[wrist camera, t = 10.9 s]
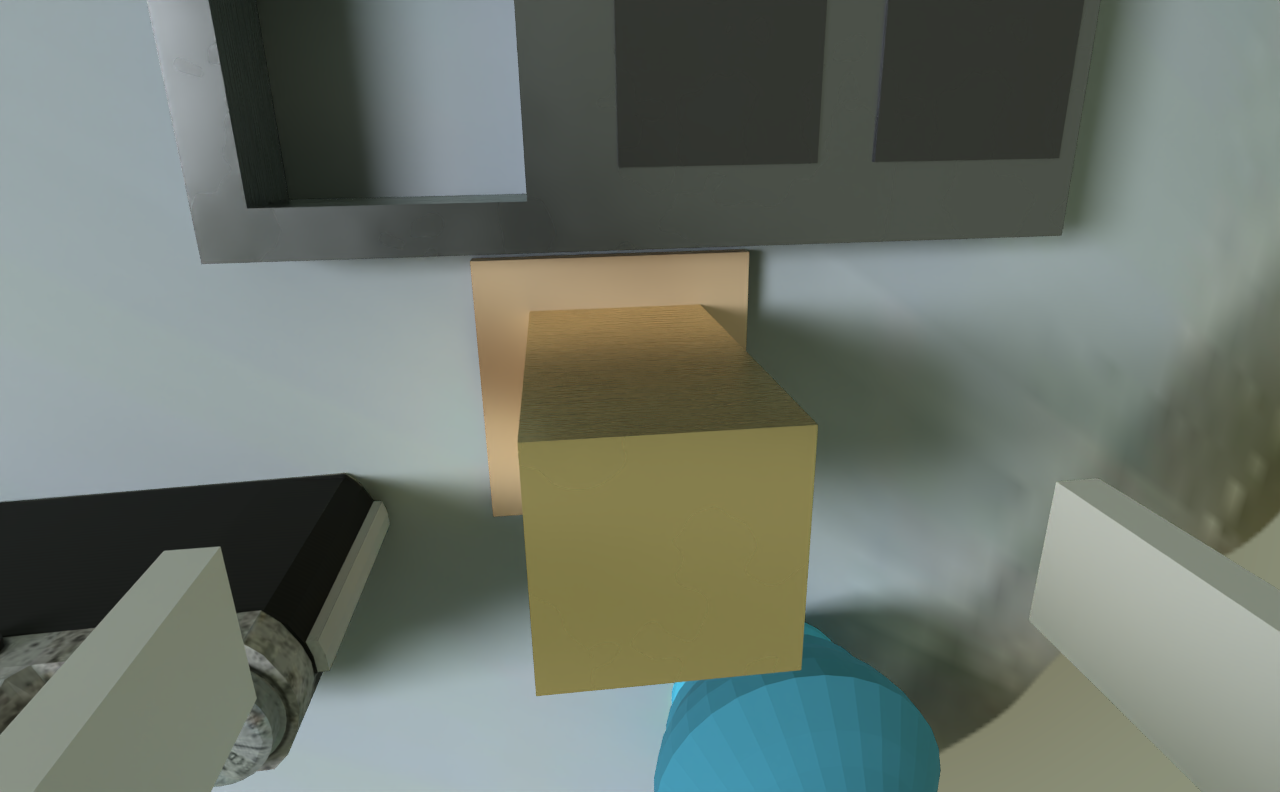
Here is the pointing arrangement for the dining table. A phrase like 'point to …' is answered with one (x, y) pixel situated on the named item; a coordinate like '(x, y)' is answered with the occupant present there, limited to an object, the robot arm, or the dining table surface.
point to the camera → (256, 568)
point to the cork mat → (580, 284)
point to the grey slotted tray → (679, 129)
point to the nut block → (659, 502)
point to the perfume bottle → (798, 731)
